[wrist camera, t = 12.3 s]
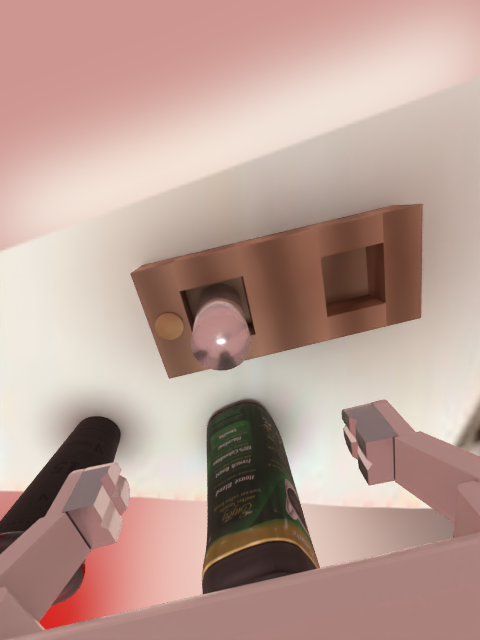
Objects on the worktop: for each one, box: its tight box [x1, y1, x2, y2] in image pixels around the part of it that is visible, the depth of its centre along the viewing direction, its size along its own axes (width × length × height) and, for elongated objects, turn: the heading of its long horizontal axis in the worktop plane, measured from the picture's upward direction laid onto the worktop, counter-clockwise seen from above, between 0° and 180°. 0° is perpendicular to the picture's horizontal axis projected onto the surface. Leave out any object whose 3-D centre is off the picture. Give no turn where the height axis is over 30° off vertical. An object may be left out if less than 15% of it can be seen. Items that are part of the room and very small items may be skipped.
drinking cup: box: [0, 417, 120, 606], centre depth 23 cm, size 8×8×20 cm
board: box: [131, 204, 423, 379], centre depth 26 cm, size 24×10×4 cm, turn 102°
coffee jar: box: [202, 403, 320, 594], centre depth 25 cm, size 10×8×19 cm
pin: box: [191, 284, 251, 370], centre depth 23 cm, size 4×4×9 cm
